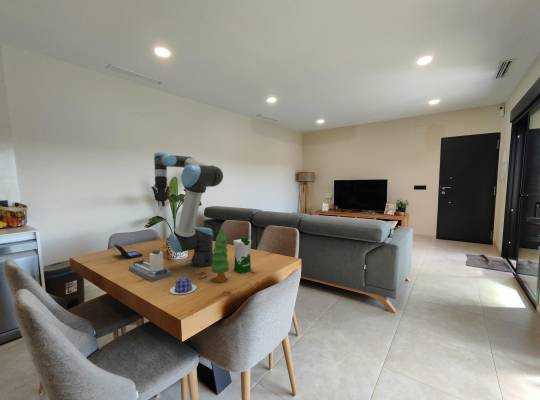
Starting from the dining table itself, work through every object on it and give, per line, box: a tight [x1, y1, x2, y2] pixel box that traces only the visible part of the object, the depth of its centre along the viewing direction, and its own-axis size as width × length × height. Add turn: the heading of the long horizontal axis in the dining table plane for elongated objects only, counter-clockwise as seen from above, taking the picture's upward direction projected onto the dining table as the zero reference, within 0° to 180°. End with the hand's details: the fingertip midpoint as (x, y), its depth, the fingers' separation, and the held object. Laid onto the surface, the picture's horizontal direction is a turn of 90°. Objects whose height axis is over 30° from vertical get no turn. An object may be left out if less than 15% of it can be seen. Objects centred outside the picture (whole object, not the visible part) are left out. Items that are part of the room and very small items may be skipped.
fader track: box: [128, 259, 173, 283], centre depth 140 cm, size 28×11×4 cm, turn 51°
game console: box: [114, 243, 143, 260], centre depth 173 cm, size 16×14×9 cm
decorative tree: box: [210, 223, 230, 283], centre depth 129 cm, size 10×9×30 cm
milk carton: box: [233, 236, 252, 274], centre depth 144 cm, size 9×9×20 cm
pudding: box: [169, 277, 197, 295], centre depth 118 cm, size 12×12×5 cm
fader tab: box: [148, 248, 164, 272], centre depth 135 cm, size 5×6×12 cm
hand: (161, 211), depth 166 cm, fingers closed
